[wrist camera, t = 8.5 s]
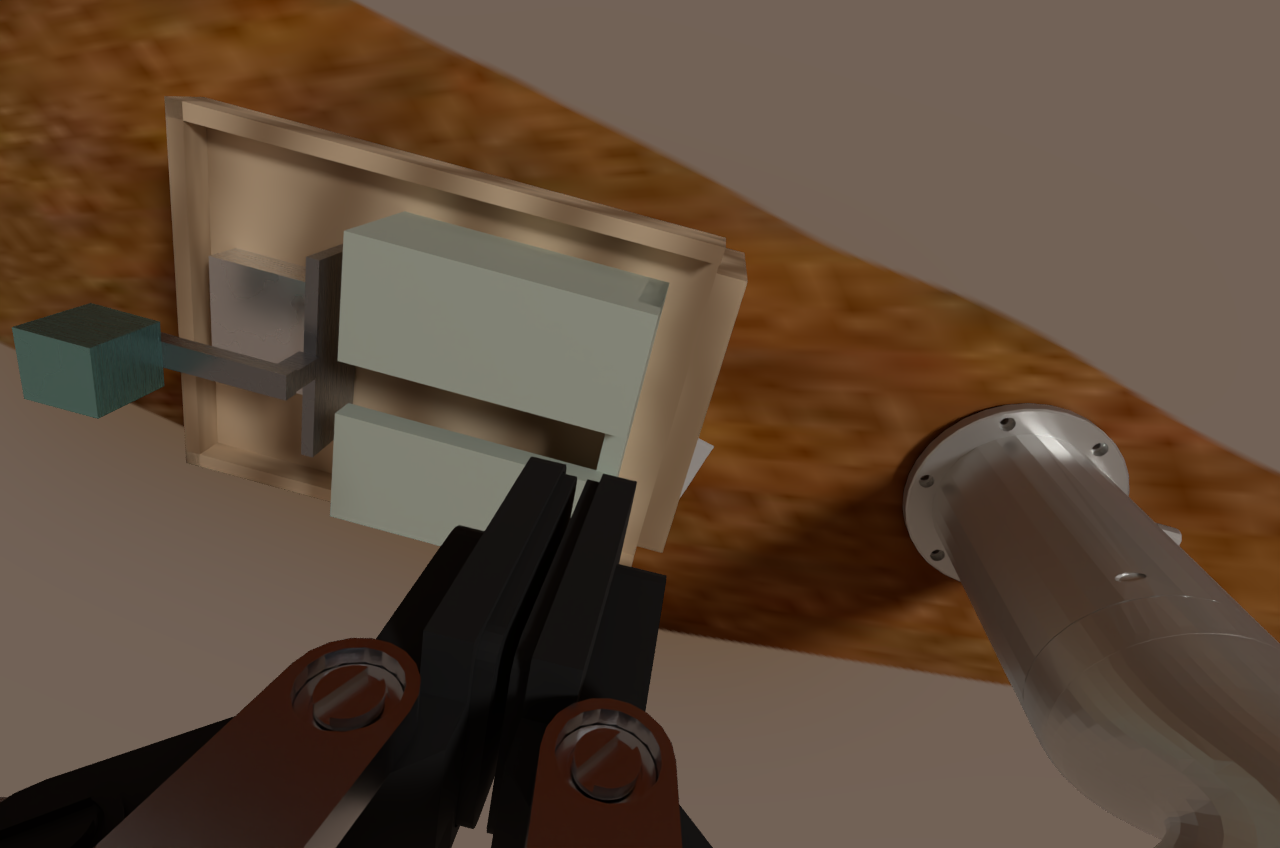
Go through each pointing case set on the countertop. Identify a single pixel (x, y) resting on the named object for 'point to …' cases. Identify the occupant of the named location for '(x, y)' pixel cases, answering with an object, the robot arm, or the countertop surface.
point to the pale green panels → (478, 365)
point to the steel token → (257, 305)
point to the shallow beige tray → (401, 181)
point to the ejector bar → (186, 358)
